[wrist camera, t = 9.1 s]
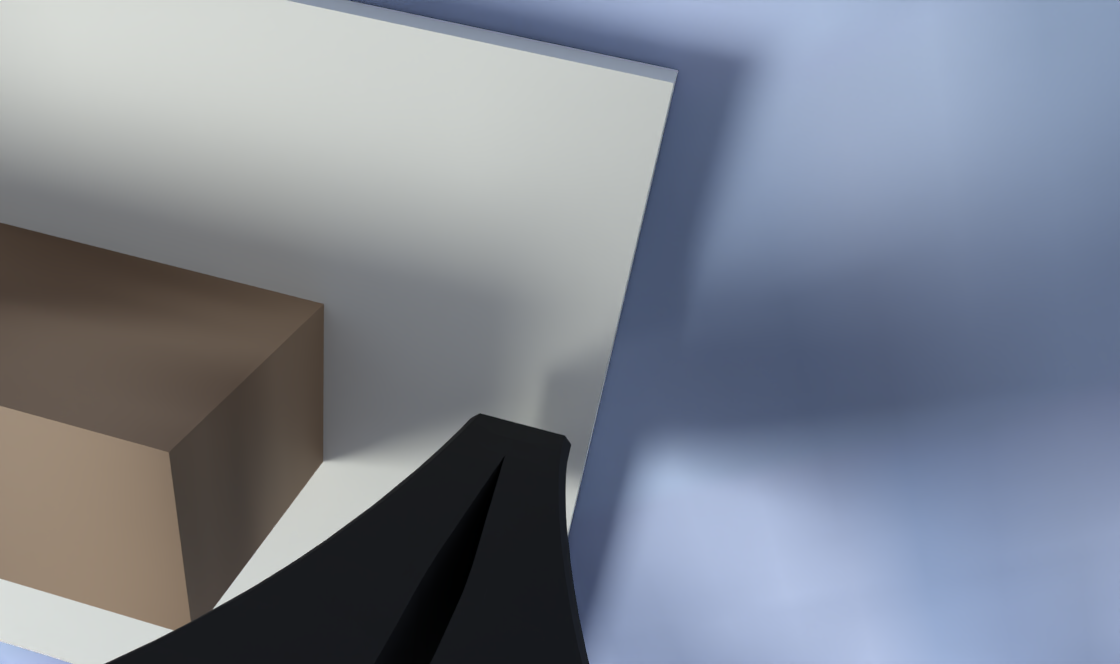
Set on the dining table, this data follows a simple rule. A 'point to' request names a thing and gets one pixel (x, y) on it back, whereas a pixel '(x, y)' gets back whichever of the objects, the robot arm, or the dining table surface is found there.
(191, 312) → the slat
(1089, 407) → the dining table surface
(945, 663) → the dining table surface
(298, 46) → the board
